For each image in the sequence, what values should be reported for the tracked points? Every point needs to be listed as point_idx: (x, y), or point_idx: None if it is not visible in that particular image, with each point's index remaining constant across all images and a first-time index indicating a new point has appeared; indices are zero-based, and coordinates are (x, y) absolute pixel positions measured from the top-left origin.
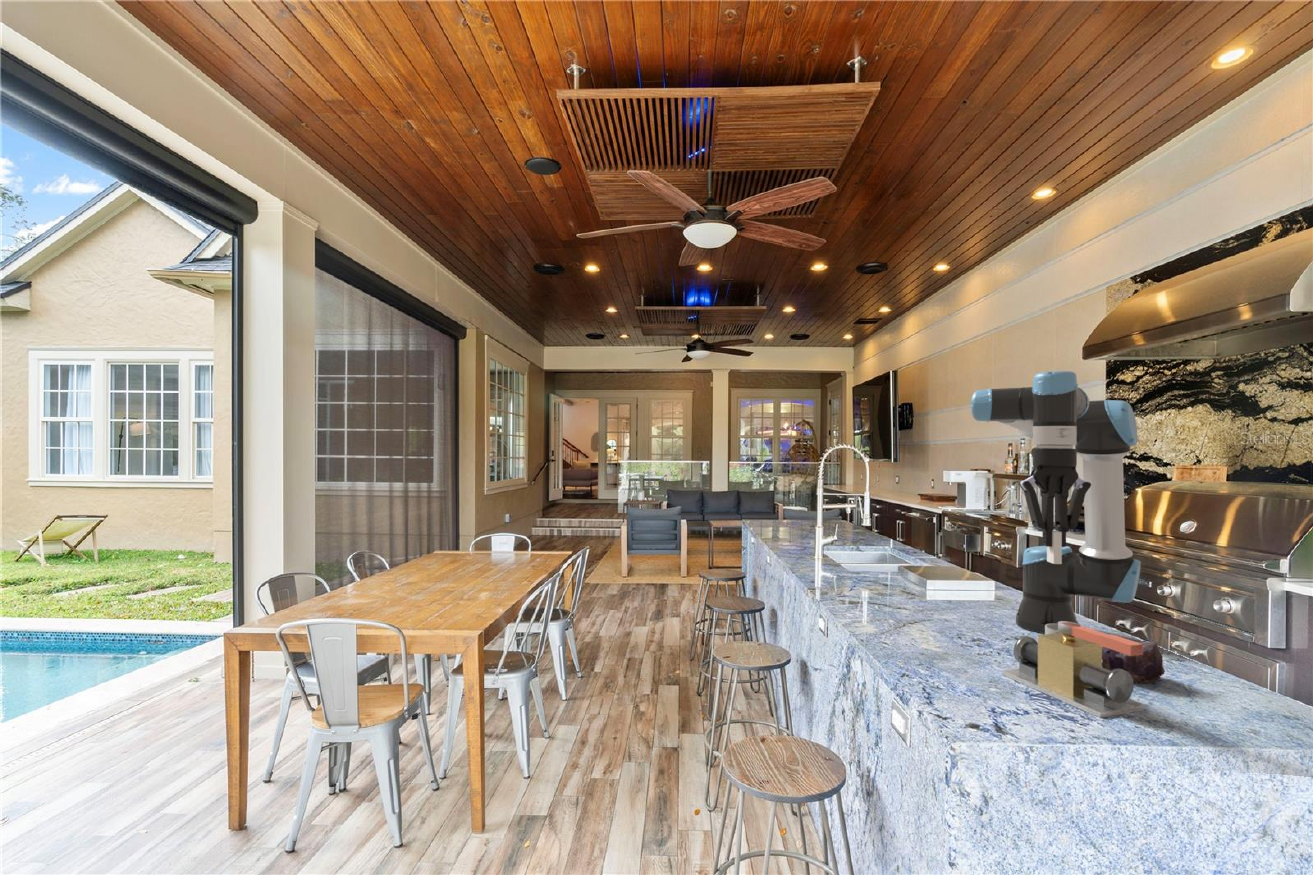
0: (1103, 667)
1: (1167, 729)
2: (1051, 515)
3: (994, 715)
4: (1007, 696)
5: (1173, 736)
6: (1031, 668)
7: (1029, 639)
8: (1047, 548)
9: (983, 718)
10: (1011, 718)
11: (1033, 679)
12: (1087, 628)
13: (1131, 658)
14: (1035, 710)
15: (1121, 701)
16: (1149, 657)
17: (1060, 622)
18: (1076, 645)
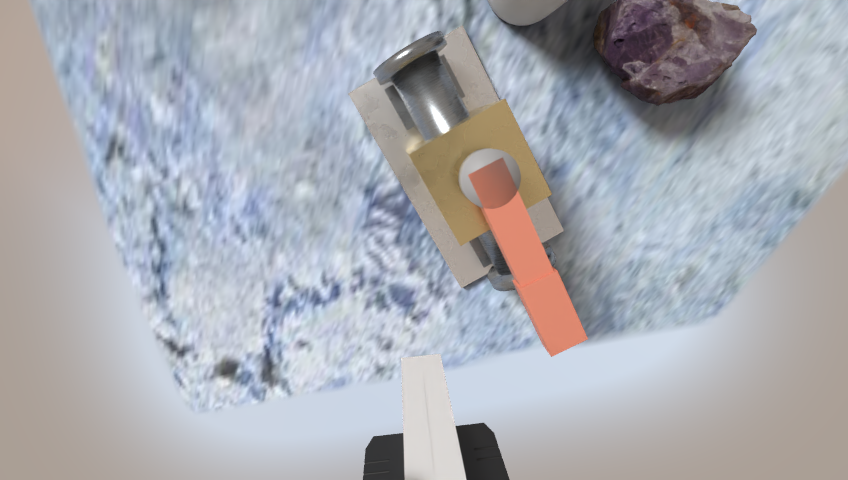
0: (599, 23)
1: None
2: None
3: (273, 319)
4: (322, 223)
5: None
6: (402, 121)
7: (418, 57)
8: (403, 405)
9: (251, 336)
10: (300, 324)
11: (400, 138)
12: (523, 216)
13: (645, 91)
14: (355, 279)
15: None
16: (686, 94)
17: (471, 167)
18: (477, 225)
